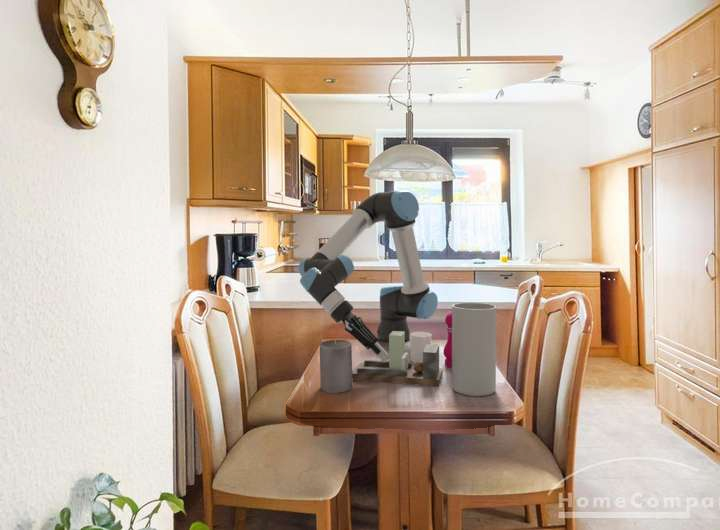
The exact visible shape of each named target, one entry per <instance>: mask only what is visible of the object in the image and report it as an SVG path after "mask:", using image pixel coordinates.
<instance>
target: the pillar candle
mask: <svg viewBox="0 0 720 530" xmlns="http://www.w3.org/2000/svg"><path fill="white" fill-rule="evenodd" d="M352 347H353V346H352V342H351V341H349V340H347V339H346V340H345V339H336V338H335V339H330V340H329V339H328V340H324V341H322V342H320V343H319V367H320V368H319V370H320V371H319V374H320V375H319V376H320V378H319V379H320V390H321V391H322V392H324V393H328V394H339V393H340V394H341V393H344V392H345V393H346V391H347V392H349V391H351V390H352V389H353V380H352V371H353V355H352V353H353V352H352V350H353V349H352ZM350 389H351V390H350Z"/></svg>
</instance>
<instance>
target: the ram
mask: <svg viewBox="0 0 720 530" xmlns="http://www.w3.org/2000/svg"><path fill="white" fill-rule="evenodd" d="M388 354H389V359H388V361H389V370H403V371H407V369H408V363H409V352H406V341H405V332H402V331H392V332H391V333H390V335H389V341H388Z"/></svg>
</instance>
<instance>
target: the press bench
mask: <svg viewBox="0 0 720 530" xmlns="http://www.w3.org/2000/svg"><path fill="white" fill-rule="evenodd" d="M363 361H364V362H360V363H358V365H357V366H356V367H355V368H354V369H352V379H354V380H353V381H362V380H366V381H365V382H375V381H381V382H380V383H389V382H395V383H394V384H402V383H406V384H405V385H415V384H419V385H418V386H429V385H433V386H432V387H440V385H439V384H440V383H441V381H442V377H443V375H442V374H443V372H444V370H443V367H441V368H440V345H439V344H432V343H431V344H427V345H426V347H425V349H424V351H423V362H421V361H417V362H415V363H414V364H413V362H408V369H407V371H403V370H389V360H387V361H386V362H383V361H382V360H375V359H374V360H373V359H364V360H363ZM412 365H413V366H412ZM367 380H368V381H367Z"/></svg>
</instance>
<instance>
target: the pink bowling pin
mask: <svg viewBox="0 0 720 530" xmlns="http://www.w3.org/2000/svg"><path fill="white" fill-rule="evenodd" d="M444 323H445V324H446V325H447V326H446V332H447V341H446V343H445V346H444V348H443V356H444V357H445V359H444V365H445V366H446V367H447V366H448V367H447V368H452V309H451V313H450V312H449V313H448V314H447V315H446V317H445V319H444Z"/></svg>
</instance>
